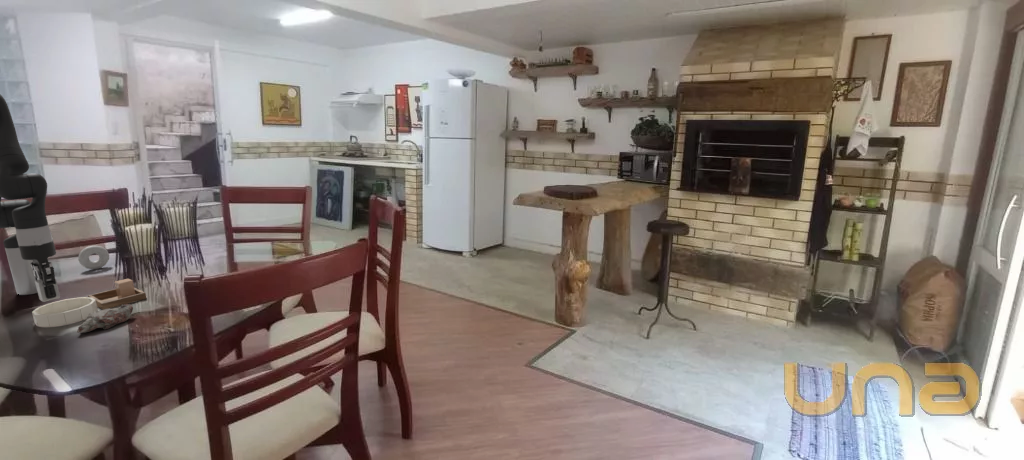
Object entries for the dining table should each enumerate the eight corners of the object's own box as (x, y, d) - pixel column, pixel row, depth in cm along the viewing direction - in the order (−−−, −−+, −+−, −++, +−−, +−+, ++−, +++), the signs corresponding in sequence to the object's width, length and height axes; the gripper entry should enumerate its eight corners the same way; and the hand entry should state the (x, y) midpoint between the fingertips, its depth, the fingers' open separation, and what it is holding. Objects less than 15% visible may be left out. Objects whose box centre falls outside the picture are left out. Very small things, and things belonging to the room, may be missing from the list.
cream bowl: (30, 321, 153) (27, 308, 152) (89, 306, 164) (86, 294, 163) (43, 332, 144) (40, 318, 144) (104, 315, 156) (101, 303, 155)
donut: (82, 272, 201) (76, 249, 198) (80, 271, 203) (74, 247, 200) (112, 266, 208) (107, 243, 206) (110, 265, 210) (105, 242, 208)
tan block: (117, 298, 170) (114, 281, 169) (131, 294, 173) (128, 278, 172) (122, 300, 168) (118, 283, 166) (136, 296, 171) (132, 280, 170)
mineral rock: (80, 338, 140) (77, 323, 139) (72, 331, 145) (69, 317, 144) (142, 320, 152) (139, 307, 151) (132, 314, 157) (129, 301, 156)
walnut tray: (89, 302, 168) (87, 295, 167) (131, 291, 177) (129, 285, 177) (103, 310, 160) (101, 303, 159) (146, 299, 169) (145, 292, 169)
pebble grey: (39, 299, 150) (34, 280, 148) (56, 295, 153) (52, 277, 152) (43, 302, 148) (38, 282, 146) (60, 297, 151) (56, 279, 149)
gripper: (12, 241, 147) (26, 295, 151) (24, 247, 139) (39, 304, 143) (46, 236, 153) (58, 288, 157) (59, 242, 145) (72, 297, 149)
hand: (49, 296), depth 150 cm, fingers closed on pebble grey, 4 cm apart
